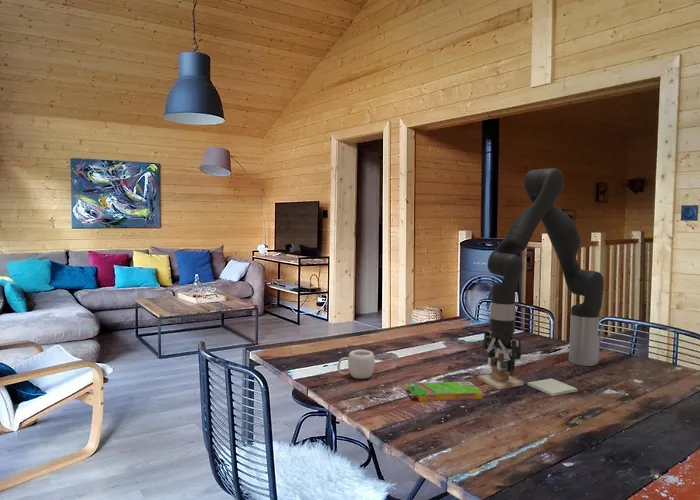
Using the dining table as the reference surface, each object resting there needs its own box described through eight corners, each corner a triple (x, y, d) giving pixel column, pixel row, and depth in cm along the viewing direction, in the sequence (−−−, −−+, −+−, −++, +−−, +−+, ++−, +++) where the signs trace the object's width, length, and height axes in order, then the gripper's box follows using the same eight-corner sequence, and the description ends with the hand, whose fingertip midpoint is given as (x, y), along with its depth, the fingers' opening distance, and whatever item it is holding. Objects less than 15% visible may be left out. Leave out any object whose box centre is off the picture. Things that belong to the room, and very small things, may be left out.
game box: (482, 402, 145) (412, 401, 143) (469, 391, 155) (404, 390, 152) (482, 392, 145) (413, 391, 142) (470, 381, 155) (405, 380, 152)
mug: (371, 371, 168) (372, 348, 167) (376, 380, 160) (377, 356, 159) (335, 373, 166) (335, 349, 166) (338, 381, 158) (339, 357, 157)
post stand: (501, 375, 166) (502, 348, 166) (523, 384, 157) (525, 356, 157) (477, 379, 162) (478, 351, 162) (498, 389, 153) (499, 360, 152)
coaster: (551, 380, 161) (551, 378, 161) (577, 391, 152) (577, 388, 152) (527, 384, 157) (527, 382, 157) (552, 395, 148) (552, 393, 148)
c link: (501, 362, 163) (501, 355, 163) (513, 367, 158) (514, 360, 158) (487, 364, 161) (488, 357, 161) (499, 370, 156) (500, 362, 156)
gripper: (528, 320, 153) (526, 373, 155) (496, 311, 166) (494, 360, 167) (509, 322, 150) (507, 376, 151) (478, 313, 163) (476, 362, 164)
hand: (500, 367), depth 159 cm, fingers open, 8 cm apart
